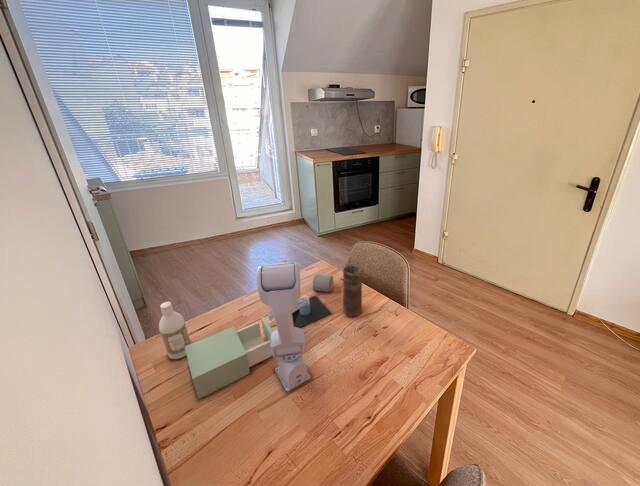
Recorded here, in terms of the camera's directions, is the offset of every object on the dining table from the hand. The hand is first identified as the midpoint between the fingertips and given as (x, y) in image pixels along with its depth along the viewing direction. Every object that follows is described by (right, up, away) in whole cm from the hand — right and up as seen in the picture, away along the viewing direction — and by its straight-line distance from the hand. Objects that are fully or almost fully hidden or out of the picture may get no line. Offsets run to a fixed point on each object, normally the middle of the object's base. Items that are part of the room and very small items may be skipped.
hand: (290, 326), depth 104 cm
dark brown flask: (+22, +1, +15) cm, 26 cm away
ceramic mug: (+8, +7, +28) cm, 30 cm away
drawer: (-9, -6, -5) cm, 12 cm away
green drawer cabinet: (-20, -10, -12) cm, 25 cm away
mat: (+3, +1, +13) cm, 13 cm away
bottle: (+3, +1, +13) cm, 13 cm away
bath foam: (-36, -7, -6) cm, 37 cm away
